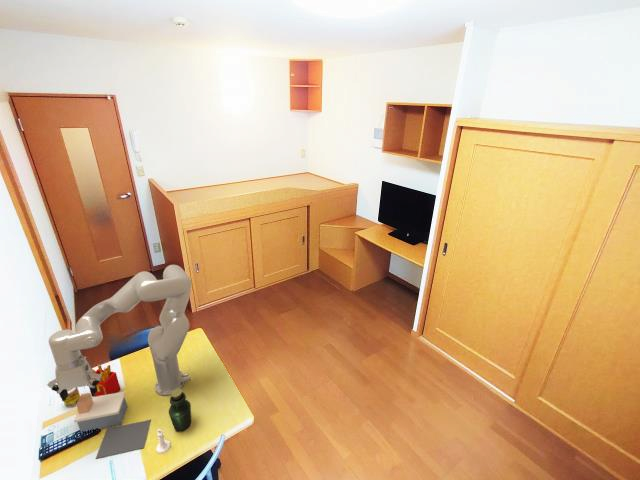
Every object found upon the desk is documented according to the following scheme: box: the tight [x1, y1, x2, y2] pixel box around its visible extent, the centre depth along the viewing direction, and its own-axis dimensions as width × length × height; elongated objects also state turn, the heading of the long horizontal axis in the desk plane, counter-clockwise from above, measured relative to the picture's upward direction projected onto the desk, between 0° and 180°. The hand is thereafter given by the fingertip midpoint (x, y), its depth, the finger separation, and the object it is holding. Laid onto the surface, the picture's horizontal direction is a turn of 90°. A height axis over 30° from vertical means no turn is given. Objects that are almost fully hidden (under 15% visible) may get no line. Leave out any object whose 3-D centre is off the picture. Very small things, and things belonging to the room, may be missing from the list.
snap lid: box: [73, 391, 126, 423], centre depth 125 cm, size 15×10×6 cm, turn 106°
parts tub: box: [76, 396, 128, 433], centre depth 128 cm, size 14×9×7 cm, turn 106°
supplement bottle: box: [63, 387, 81, 408], centre depth 134 cm, size 6×6×10 cm
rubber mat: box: [95, 419, 152, 460], centre depth 122 cm, size 16×12×1 cm
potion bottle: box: [168, 388, 192, 433], centre depth 124 cm, size 8×8×18 cm
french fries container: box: [88, 364, 121, 397], centre depth 138 cm, size 7×9×14 cm
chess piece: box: [155, 428, 171, 455], centre depth 117 cm, size 5×5×10 cm
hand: (80, 395), depth 122 cm, fingers open, 9 cm apart
